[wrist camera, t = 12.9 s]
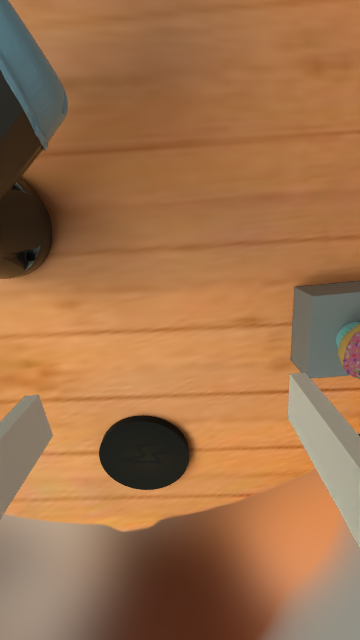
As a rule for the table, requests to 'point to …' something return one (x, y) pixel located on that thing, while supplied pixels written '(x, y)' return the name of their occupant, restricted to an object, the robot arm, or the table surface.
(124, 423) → the wireless charger
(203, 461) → the table surface
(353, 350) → the cupcake
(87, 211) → the table surface
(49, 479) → the table surface
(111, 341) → the table surface
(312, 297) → the plinth
